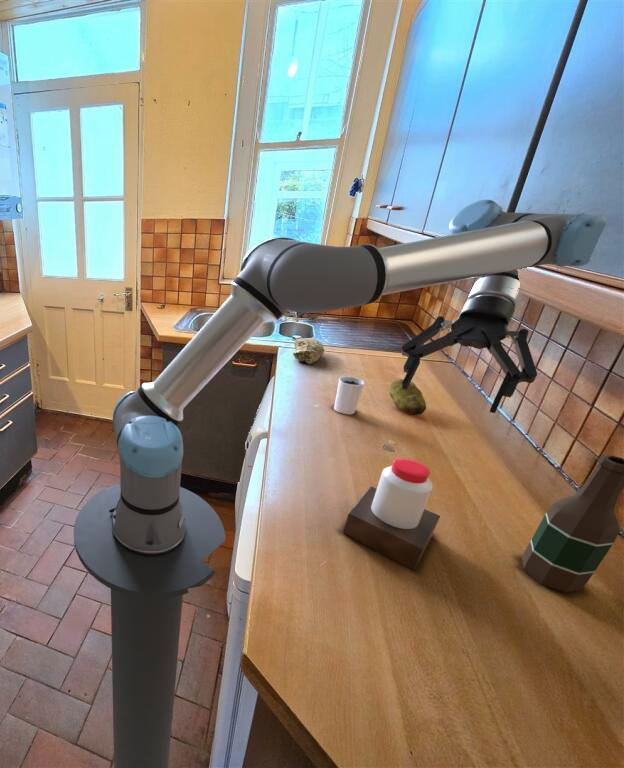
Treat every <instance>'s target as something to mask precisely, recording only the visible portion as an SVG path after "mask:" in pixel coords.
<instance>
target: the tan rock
mask: <svg viewBox="0 0 624 768" xmlns="http://www.w3.org/2000/svg"><path fill="white" fill-rule="evenodd" d="M294 348H295V349H294V351H293V352H292V356H293V358H294V359H295V360H296V361H299V362H303V363H306V364H308V365H309V364H314V363H315V362H318V360H320V357H321V356H323V355H324V353H325V348H324V346H323V343H322V342H321V341H319V340H318V339H316V338H312V337H300V338H297V339H296V340H295V342H294Z"/></svg>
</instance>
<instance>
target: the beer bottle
mask: <svg viewBox="0 0 624 768" xmlns="http://www.w3.org/2000/svg"><path fill="white" fill-rule="evenodd" d="M597 462H598V464H597V465H596V466H595V467H594V469H593V471H592V472H591V473H590V475H589V476H588V478H587V479H586V481H585V482H584V483H583V485H582V486H581V487H580V488H579V489H578V490H577V491H576V492H575V493H574V494H572V495H569V496H567V497H563V498H560V499H558V500H557V501H555V502H554V503H552V504H551V505H550V507H549V508H548V510H547V511H546V512H545V514H544V515H543V518H542V520H541V521H540V523H539V525H538V527H537V528H536V530H535V532H534V534H533V536H532V538H531V539H530V541H529V543H528V544H527V546H526V548H525V550H524V552H523V554H522V557H521V561H522V567H523V571H524V572H525V573H527V575H529V576H530V577H531V578H533V579H534V580H536V582H538V583H539V584H541V585H542V586H546V587H548V588H551V589H553V590H556V591H559V592H561V593H571V592H578V591H582V589H584V587H585V586H586V585H587V584H588V582H589V581H590V579H591V578H592V576H593V575H594V573H595V572H596V570H597V569H598V567H600V566H599V565H601V563H602V561H603V560H604V558H605V557H606V556H607V554H608V552H609V551H610V550H611V548H612V547H613V545H614V544H615V541H616V539H617V537H618V536H619V533H620V532H619V521H618V518H617V516H616V513H615V508H616V504H617V501H618V499H619V497H620V496H621V493H622V491H623V489H624V458H623V457H620V456H615V455H610V454H607V455H602V456H600V457H599V458H598V459H597Z"/></svg>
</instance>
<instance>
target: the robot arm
mask: <svg viewBox="0 0 624 768" xmlns="http://www.w3.org/2000/svg"><path fill="white" fill-rule="evenodd" d="M606 218H607V217H606ZM606 218H605V216H603V215H596V214H595V215H593V214H585V213H583V212H582V213H578V214H577V213H576V214H575V213H573V214H572V213H535V212H534V213H533V212H530V213H529V212H506V211H503V208H502V205H499V204H498V203H497V202H496V201H494V200H493V199H481V200H476V201H475V202H472V203H470V204H468V205H466V206H465V207H463V208H462V209H460V210H459V211H458V213H456V214H455V215H454V216H453V217H452V219H451V220H450V222H449V225H448V230H449V232H450V234H447V235H441V236H436V237H431V238H426V239H421V240H415V241H410V242H404V243H400V244H394V245H389V246H383V247H378V246H376V245H374V244H370V243H364V244H360V245H352V246H334V245H325V244H319V243H313V242H308V241H300V240H296V239H294V238H292V237H283V236H281V237H279V236H278V237H271V238H268V239H264V240H261V241H260V242H258V243H256V244H255V245H254V246H252V247H251V248H250V249H249V250H248V251H247V253H246V254H245V256H244V257H243V259H242V262H241V264H240V271H239V274H238V275H237V276H236V277H235V278H234V280H233V281H232V282H231V283H230V295H229V297H228V298H227V299H226V300H225V301H224V302H223V303H222V304H221V306H220V307H219V308H218V309H217V310H216V311H215V312H214V314H213V315H212V316H211V317H210V318H209V319H208V320H207V321H206V323H205V324H204V325H203V326H202V327H201V328H200V329H199V331H197V333H196V334H195V335H194V336H193V337H192V338H191V340H189V341H188V343H187V344H186V345H185V346H184V347H183V348H182V349H181V351H179V353H178V354H177V355H176V356H175V357H174V359H172V361H171V362H170V363H169V364H168V365H167V366H166V367H165V368H164V369H163V371H162V372H161V373H160V374H159V375H158V376H157V378H156V379H155V380H154V381H152V382H143V383H142V384H141V385H140V386H139V387H138V388H137V389H136V390H131V391H128V392H127V393H125V394H124V395H122V396H121V397H120V398H119V399H118V400H117V402H116V404H115V406H114V408H113V412H112V426H113V427H112V428H113V429H112V430H113V432H114V436H115V442H116V447H117V453H118V459H119V470H120V474H119V475H120V477H119V478H120V480H119V481H120V483H119V484H120V489H121V496H120V498H119V501H118V503H117V506H116V507H115V508H113V509H110V510H109V511H110V513H112V512H114V513H113V517H112V532H113V535H114V538H115V539H116V541H117V542H118V543H119V544H120V545H121V546H122V547H123V548H125V549H126V550H128V551H130V552H132V553H134V554H137V555H141V556H150V557H153V556H161V555H165V554H168V553H170V552H172V551H174V550H175V549H177V548H178V547H179V546H180V545H181V544H182V542H183V541H184V538H185V535H186V520H185V515H184V512H182V507H181V504H180V501H179V493H180V487H181V481H182V479H181V477H182V467H183V466H182V464H183V457H184V453H185V452H184V442H183V435H182V433H181V431H180V429H179V428H178V426H179V424H180V423H181V422H182V421H183V420H184V409H185V408H186V407H187V406H188V404H189V403H190V402H191V401H192V400H193V399H194V398H195V397H196V396H197V395H198V394H199V393H200V391H202V389H204V387H206V386H207V384H208V383H209V382H210V381H211V380H212V379H213V378H214V377H215V376H216V375H217V374H218V373H219V371H220V370H221V369H223V367H224V366H225V365H226V364H227V363H228V362H229V361H230V360H231V359H232V358H233V357H234V356H235V355H236V353H237V352H238V351H239V350H241V348H242V347H243V346H245V344H246V343H247V342H248V341H249V340H250V339H251V338H252V336H253V335H254V334H256V332H257V331H258V330H259V329H261V327H262V326H263V325H264V324H266V323H274V322H275V323H276V322H277V321H278V320H279V319H280V318H281V317H282V316H283V315H284V314H285V313H286V312H287V311H290V312H293V313H300V314H313V313H314V314H315V313H324V312H331V311H338V310H344V309H351V308H357V307H360V306H367V305H370V304H375V303H376V302H377V301H379V300H380V299H381V298H382V297H383V296H386V295H390V294H391V295H392V294H395V293H400V292H406V291H411V290H417V289H422V288H427V287H428V288H429V287H432V286H437V285H442V284H448V283H453V282H458V281H464V280H469V279H474V278H477V279H476V280H475V282H474V284H473V286H472V288H471V290H470V292H469V294H468V297H467V299H466V301H465V303H464V305H463V307H462V309H461V311H460V313H459V315H458V317H457V318H456V319H455V320H453V321H452V320H447V319H445V317H444V316H443V315H439V316H437V317H436V318H435V319H434V322H433V323H432V324H431V325H430V326H428V327H427V328H425V329H424V330H422V331H421V332H419V334H416V335H415V336H414V337H413V338H411V339H409V341H407V342H406V343H404V344H403V345H402V346H401V355H402V356H403V357H407V359H406V361H405V363H404V364H403V373H406V374H405V376H404V378H403V379H404V380H403V382H402V389H405V390H407V388H408V386H409V384H410V382H412V381H413V378H414V376H415V374H416V372H417V370H418V368H419V366H420V364H421V359H422V358H424V357H427V356H429V355H431V354H433V353H436V352H438V351H441V350H443V349H445V348H447V347H453V346H454V345H458V344H459V345H460V346H461V347H471V348H474V349H477V350H482V349H486V350H487V351H488V353H489V354H490V355H492V357H493V358H494V359H495V361H496V363H497V364H498V365H499V367H500V369H501V370H502V371H503V373H504V374H505V375H504V378H503V379H502V382H501V385H500V387H499V389H498V391H497V393H496V395H495V397H494V400H493V402H492V404H491V406H490V408H489V413H492V414H496V413H497V410H498V407H499V406H500V404H501V401H502V400H503V397H505V398H512V397H513V396H514V394H515V391H516V389H517V386H518V385H519V384H520V383H528V384H532V383H534V382H535V381H536V379H537V376H538V371H537V368H536V365H535V362H534V359H533V356H532V353H531V349H530V346H529V343H528V340H527V339H528V335H529V330H528V329H526V328H522V329H520V330H519V331H518V330H509V329H508V326H509V325H510V322H511V320H512V318H513V315H514V313H515V311H516V309H517V307H518V305H519V303H520V301H521V298H522V297H523V294H524V292H523V293H521V292H519V289H518V288H520V282H519V281H518V280H519V278H518V271H517V269H522V268H527V267H533V266H536V267H538V266H544V265H556V266H558V267H582V266H585V264H586V265H588V264H589V263H588V262H589V261H590V257H591V255H592V253H593V251H594V248H595V246H596V244H597V242H598V239H599V237H600V235H601V233H602V231H603V229H604V227H605V225H606V220H607V219H608V218H607V219H606ZM587 263H588V264H587ZM516 279H517V280H516ZM508 287H511V288H513V289H511V288H508ZM517 290H518V291H517ZM446 329H450V331H449V332H447V333H446V334H445V335H442V336H441V337H439V338H437V339H434V340H432V341H430V342H428V341H429V340H431V339H433V338H434V337H435V336H436V335H438V334H439V333H440V332H444V331H445V330H446ZM506 338H507V339H509V340H510V343H511V344H513V345H514V350H515V353H516V356H517V359H518V362H519V366H520V369H521V370H520V369H519V367H518V366H517V365H516V363H515V362H514V361H513V359H512V358H511V356H510V355H509V353H508V352H507V351H506V349H505V348H504V346H503V344H502V341H503V340H505V339H506Z"/></svg>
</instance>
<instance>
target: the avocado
mask: <svg viewBox="0 0 624 768" xmlns="http://www.w3.org/2000/svg"><path fill="white" fill-rule="evenodd" d="M403 380H404V378H403V379H397V380H394V381H393V382H392V383H391V384H390V387H389V396H390V398H391V399H392V401H393V404H394V406H395V408H397V409H398V410H400V411H402V412H404V413H406V414H410V415H413V416H416V415H417V416H418V415H422V414H423V413H424V412H425V411H426V410H427V402H426V400H425V398H424V396H423V393H422V390H420V389H419V388H418V387H417V385H416V384H415V383H414V382H413V381H411V382H410V384H409V386H408V388H407V390H405V389H402V382H403Z"/></svg>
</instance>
